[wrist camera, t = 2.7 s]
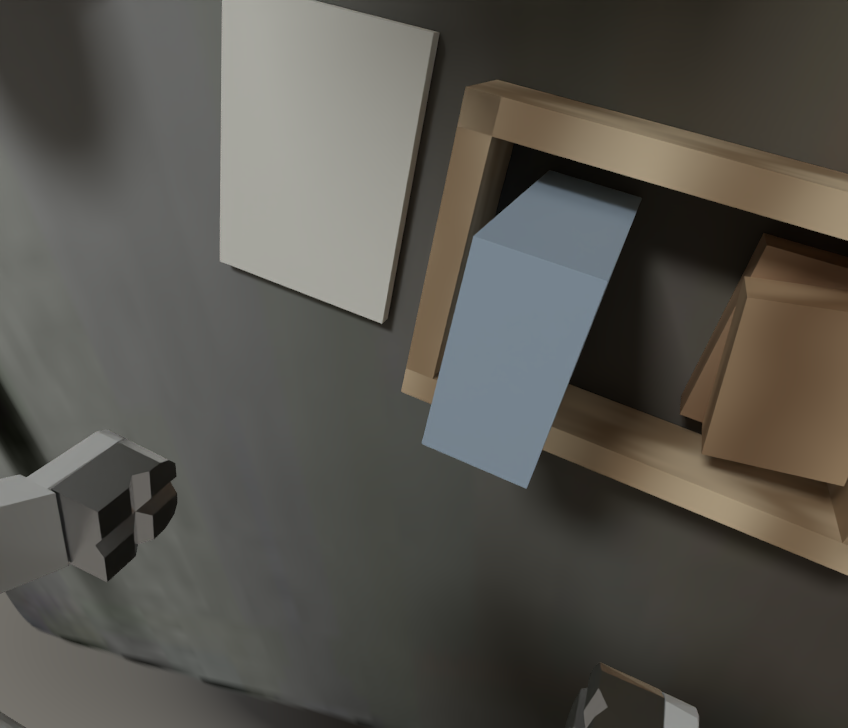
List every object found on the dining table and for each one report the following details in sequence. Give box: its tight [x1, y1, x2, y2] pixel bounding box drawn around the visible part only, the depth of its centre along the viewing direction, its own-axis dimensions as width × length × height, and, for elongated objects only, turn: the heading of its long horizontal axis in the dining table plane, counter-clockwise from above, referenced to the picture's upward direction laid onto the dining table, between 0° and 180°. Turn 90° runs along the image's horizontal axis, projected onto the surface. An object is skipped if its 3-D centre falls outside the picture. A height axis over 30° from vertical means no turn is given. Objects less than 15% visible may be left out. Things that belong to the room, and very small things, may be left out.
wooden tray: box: [401, 80, 848, 575], centre depth 22 cm, size 18×12×4 cm, turn 78°
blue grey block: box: [422, 170, 642, 489], centre depth 21 cm, size 4×7×9 cm, turn 168°
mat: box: [220, 0, 440, 324], centre depth 26 cm, size 9×12×1 cm
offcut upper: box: [702, 276, 848, 486], centre depth 20 cm, size 4×6×2 cm
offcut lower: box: [680, 233, 848, 423], centre depth 22 cm, size 5×7×2 cm
